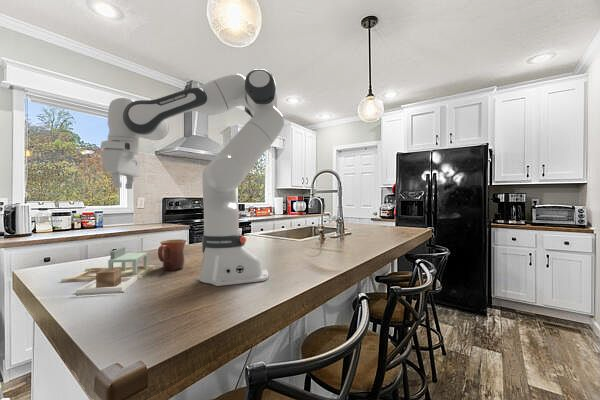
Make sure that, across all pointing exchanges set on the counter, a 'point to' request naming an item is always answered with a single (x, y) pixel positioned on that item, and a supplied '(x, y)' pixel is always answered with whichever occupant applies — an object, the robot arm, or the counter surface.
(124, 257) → the green stool
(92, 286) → the dish
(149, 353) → the counter surface
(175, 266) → the mug
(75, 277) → the board
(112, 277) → the block
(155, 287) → the counter surface
